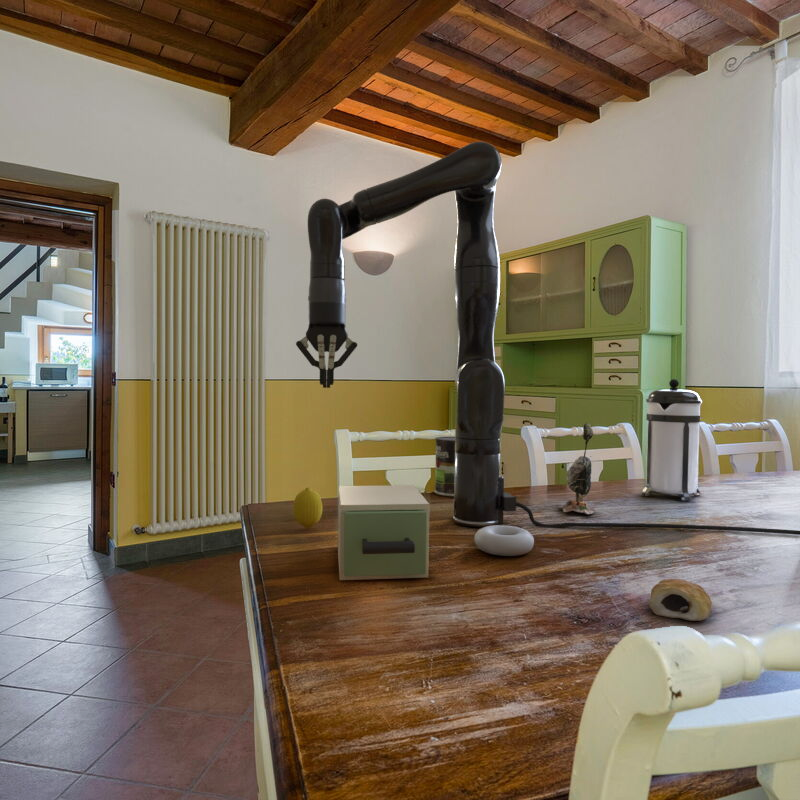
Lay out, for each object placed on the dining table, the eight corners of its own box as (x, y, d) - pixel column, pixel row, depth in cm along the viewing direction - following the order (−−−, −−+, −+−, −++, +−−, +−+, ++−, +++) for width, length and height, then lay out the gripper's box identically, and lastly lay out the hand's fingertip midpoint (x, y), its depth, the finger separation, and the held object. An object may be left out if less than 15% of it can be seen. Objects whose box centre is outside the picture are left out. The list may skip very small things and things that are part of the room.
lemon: (316, 534, 105) (316, 491, 105) (288, 532, 106) (288, 489, 106) (326, 526, 110) (326, 485, 110) (299, 524, 112) (299, 484, 111)
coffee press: (720, 502, 138) (724, 379, 137) (654, 501, 138) (657, 378, 137) (685, 489, 155) (688, 379, 155) (626, 488, 156) (629, 379, 155)
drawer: (431, 584, 77) (432, 519, 77) (345, 587, 75) (345, 521, 75) (411, 546, 95) (412, 493, 94) (341, 548, 93) (342, 494, 93)
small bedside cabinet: (428, 577, 82) (429, 503, 82) (339, 580, 81) (340, 504, 80) (413, 547, 97) (413, 485, 97) (337, 549, 95) (338, 485, 95)
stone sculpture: (600, 508, 130) (603, 421, 129) (591, 518, 120) (593, 424, 119) (565, 504, 134) (566, 419, 133) (552, 513, 124) (554, 422, 123)
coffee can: (446, 498, 139) (447, 440, 139) (427, 490, 149) (428, 437, 148) (482, 495, 143) (483, 439, 143) (462, 488, 153) (463, 436, 152)
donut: (462, 546, 99) (498, 562, 90) (463, 526, 99) (498, 540, 90) (508, 540, 103) (546, 553, 94) (508, 521, 103) (546, 533, 94)
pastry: (660, 591, 78) (662, 564, 78) (716, 603, 74) (718, 574, 74) (646, 613, 70) (647, 583, 70) (707, 628, 66) (709, 596, 66)
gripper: (358, 306, 120) (357, 387, 121) (295, 304, 118) (294, 387, 119) (360, 301, 113) (359, 388, 113) (293, 299, 111) (292, 387, 112)
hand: (326, 387), depth 116 cm, fingers closed
